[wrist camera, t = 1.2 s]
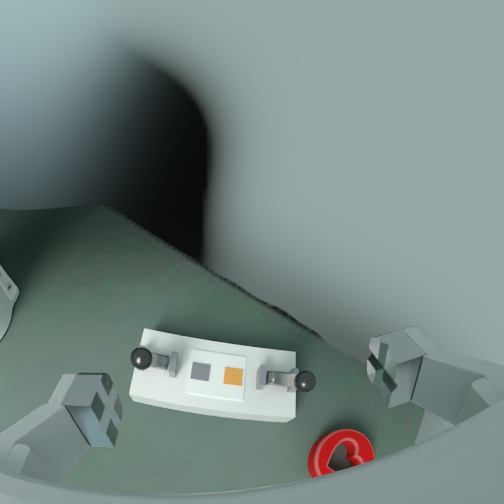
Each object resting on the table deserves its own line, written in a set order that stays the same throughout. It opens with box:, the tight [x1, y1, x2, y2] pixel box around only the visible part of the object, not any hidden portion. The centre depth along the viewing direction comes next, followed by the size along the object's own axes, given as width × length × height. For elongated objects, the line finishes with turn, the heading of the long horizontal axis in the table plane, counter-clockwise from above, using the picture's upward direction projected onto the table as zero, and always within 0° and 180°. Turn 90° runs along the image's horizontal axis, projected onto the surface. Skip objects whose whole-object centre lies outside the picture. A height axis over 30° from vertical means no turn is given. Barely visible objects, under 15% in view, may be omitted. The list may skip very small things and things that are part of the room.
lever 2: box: [266, 370, 316, 392], centre depth 34 cm, size 3×2×13 cm
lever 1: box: [131, 347, 170, 370], centre depth 33 cm, size 3×2×13 cm
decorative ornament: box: [308, 429, 375, 478], centre depth 37 cm, size 10×10×3 cm
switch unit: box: [129, 328, 299, 422], centre depth 41 cm, size 22×10×6 cm, turn 87°
